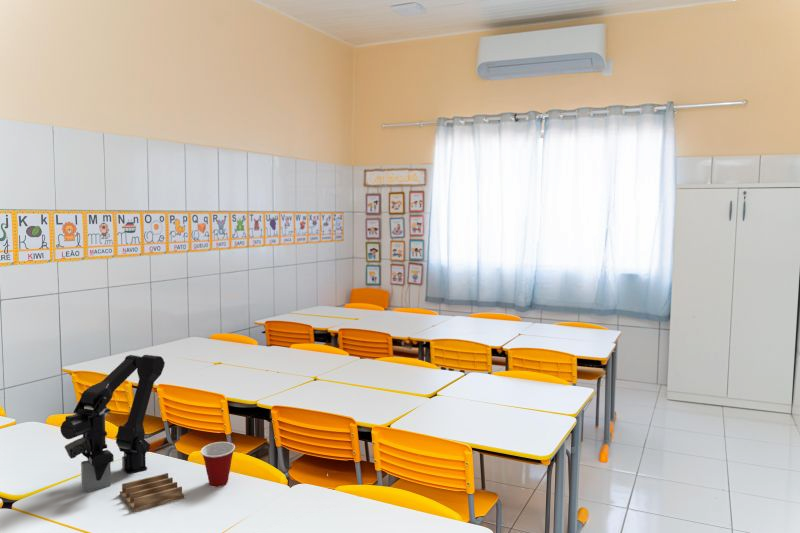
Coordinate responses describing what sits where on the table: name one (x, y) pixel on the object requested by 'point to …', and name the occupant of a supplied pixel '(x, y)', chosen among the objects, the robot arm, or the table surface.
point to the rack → (150, 492)
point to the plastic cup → (218, 462)
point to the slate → (94, 477)
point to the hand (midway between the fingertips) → (96, 476)
